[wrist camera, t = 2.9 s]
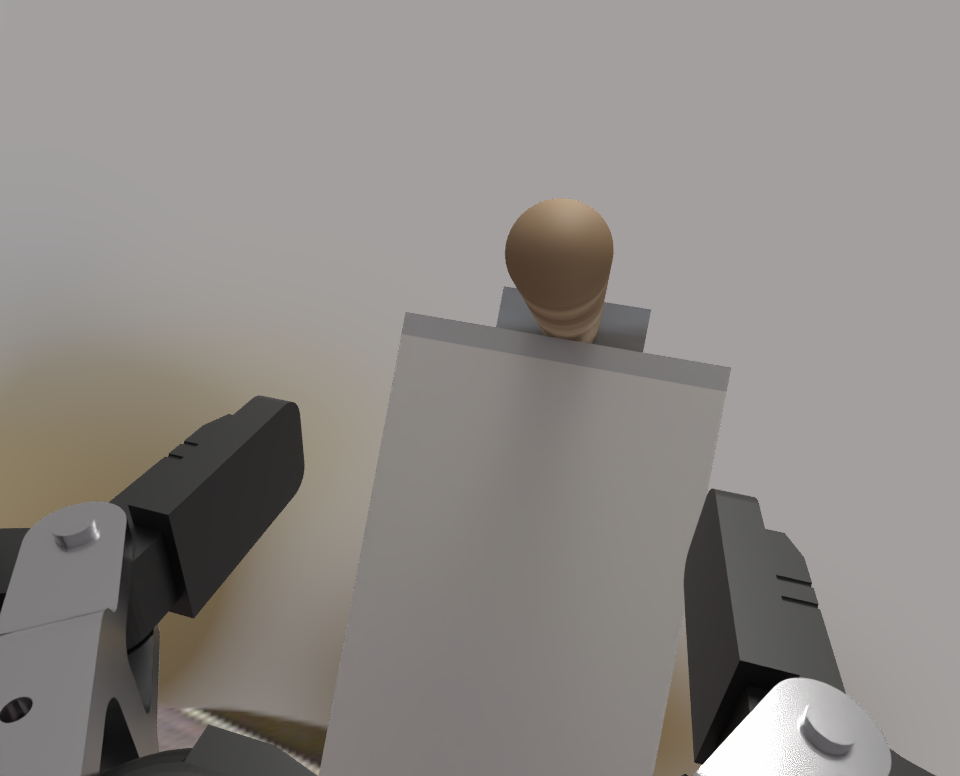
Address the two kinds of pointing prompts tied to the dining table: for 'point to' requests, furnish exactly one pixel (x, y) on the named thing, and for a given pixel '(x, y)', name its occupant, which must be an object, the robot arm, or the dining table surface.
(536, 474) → the stand
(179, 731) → the dining table surface
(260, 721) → the dining table surface
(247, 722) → the dining table surface
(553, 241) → the mallet
